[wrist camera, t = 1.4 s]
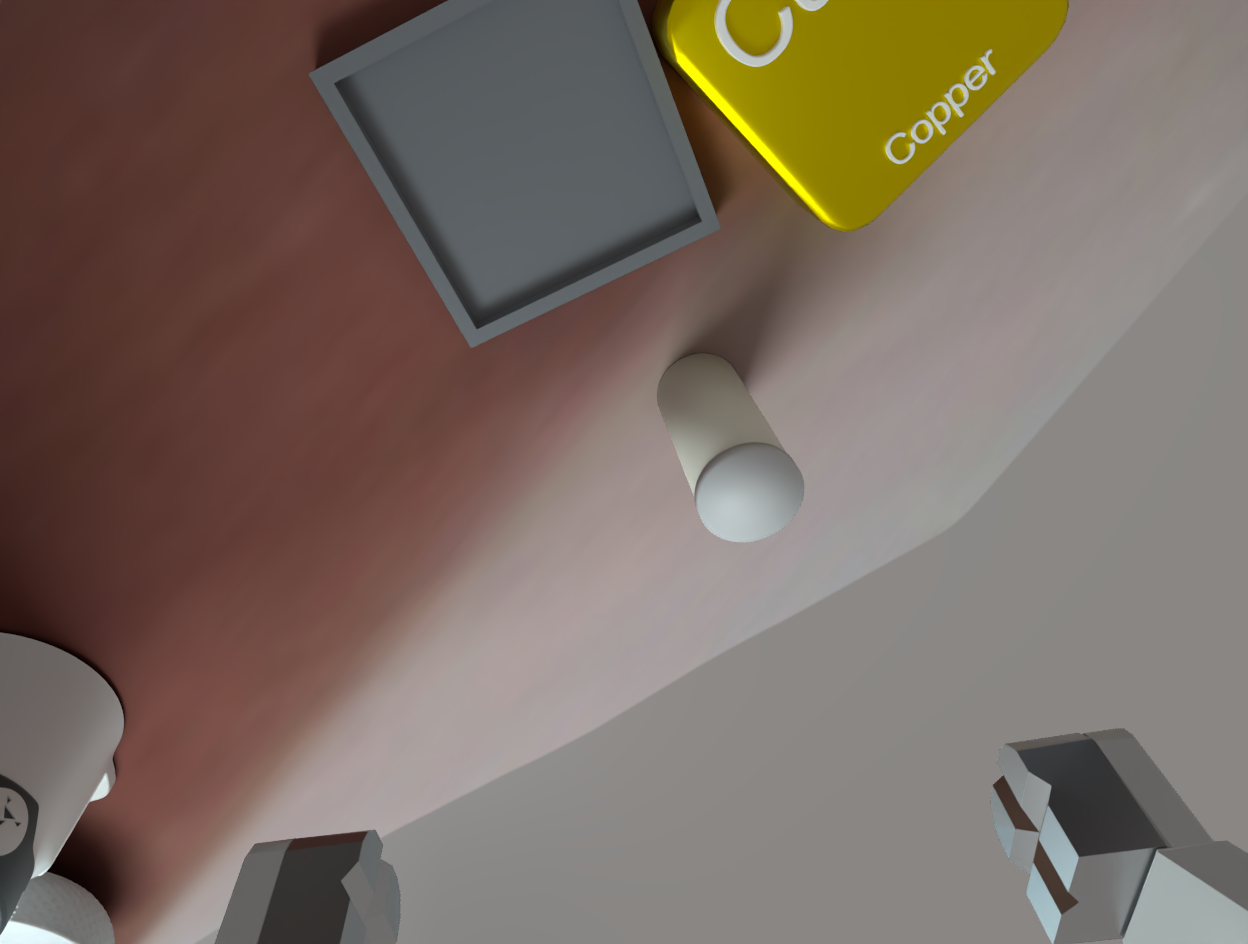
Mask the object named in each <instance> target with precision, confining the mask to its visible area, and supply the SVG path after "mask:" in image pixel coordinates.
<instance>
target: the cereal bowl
mask: <svg viewBox="0 0 1248 944" xmlns="http://www.w3.org/2000/svg"><path fill="white" fill-rule="evenodd" d="M24 892H25V894H24V896H23V899H22V901H21V903H20V905H19V907H18V909H17V911H16V913H15V914H14V916H13V917H12V918H11V920H10V921H8V923H7V925H6V927H5V929H4V931H3V932H2V934H1V935H0V944H114V943H115V939H114V931H113V926H112V924H111V922H110V918H109V916H108V915H107V911H105V910H104V908H103V906H102V905H101V904H100V903H99V901H98V900H97V899H96V898H95V897H94V896H93V894H91V893H90V892H88V891H87V890H86V889H85V888H83V887H81V886H80V885H78V884H77V883H74V882H72V881H71V880H68V879H66V878H64V877H62V876H59V875H55V874H52V873H50V872H45V873H44V874H43V875H41V876H36V877H34V878H32V879H30V881H29V883H28V885H27V887H26V889H25V891H24Z"/></svg>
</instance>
